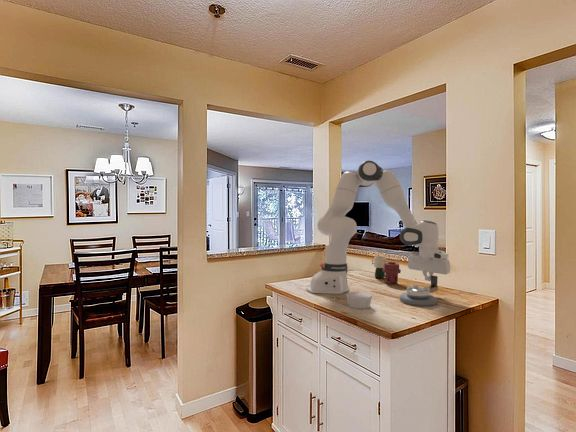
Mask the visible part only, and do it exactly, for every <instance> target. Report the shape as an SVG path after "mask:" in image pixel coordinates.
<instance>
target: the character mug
mask: <svg viewBox="0 0 576 432" xmlns="http://www.w3.org/2000/svg"><path fill="white" fill-rule="evenodd" d="M388 262H390V261H389V260H387V257H386V256H380V255H379V256H378V255H377V256H374V257H373V258H372V259H371V265H373V267H374V268H375V271H374V277H375V278H378V279H383V278H385V273H384V272H383V268H384V263H388Z"/></svg>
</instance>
